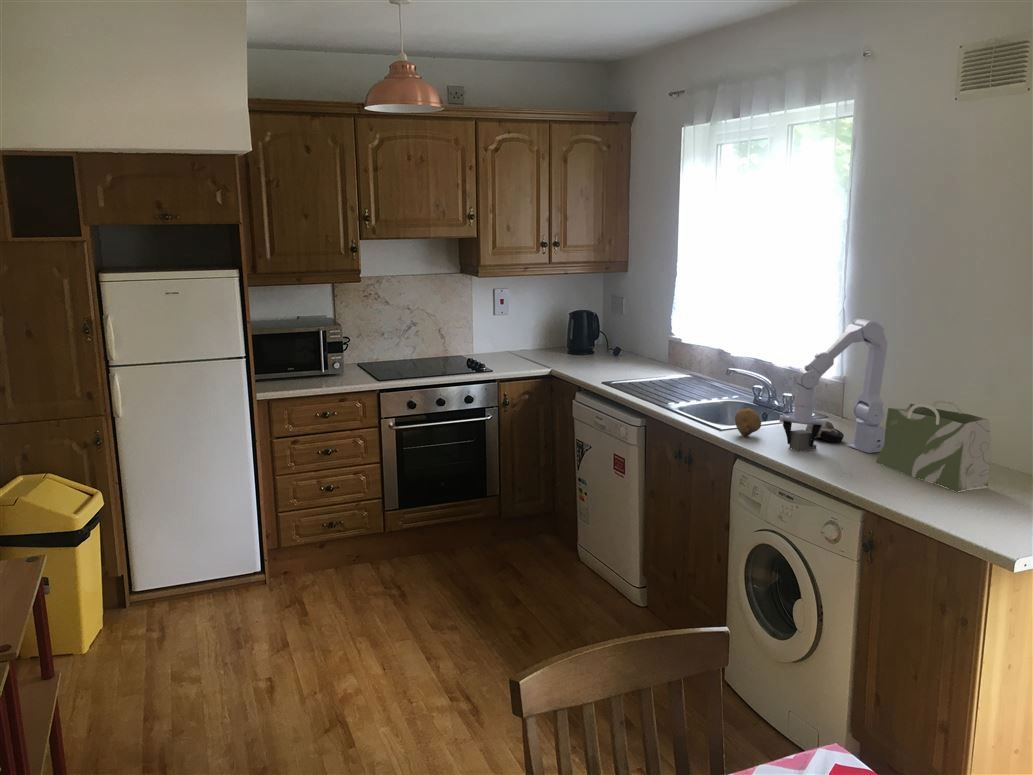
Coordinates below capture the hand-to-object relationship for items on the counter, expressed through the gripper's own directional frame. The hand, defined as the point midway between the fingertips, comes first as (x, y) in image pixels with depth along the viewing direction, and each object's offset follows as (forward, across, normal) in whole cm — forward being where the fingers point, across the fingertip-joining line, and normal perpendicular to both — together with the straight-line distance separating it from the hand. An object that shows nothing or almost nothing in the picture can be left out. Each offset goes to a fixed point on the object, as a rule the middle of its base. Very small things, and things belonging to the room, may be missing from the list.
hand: (800, 444), depth 291 cm
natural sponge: (+2, +19, -9) cm, 21 cm away
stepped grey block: (+2, -1, -1) cm, 2 cm away
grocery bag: (+2, -39, +12) cm, 41 cm away
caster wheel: (+2, -7, -18) cm, 19 cm away
